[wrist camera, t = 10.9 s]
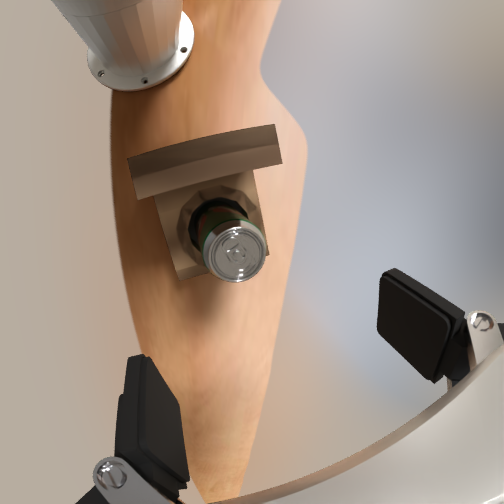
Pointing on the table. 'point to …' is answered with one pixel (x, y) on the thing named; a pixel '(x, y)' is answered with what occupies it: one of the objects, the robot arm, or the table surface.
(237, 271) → the soda can
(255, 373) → the table surface
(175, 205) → the socket block
